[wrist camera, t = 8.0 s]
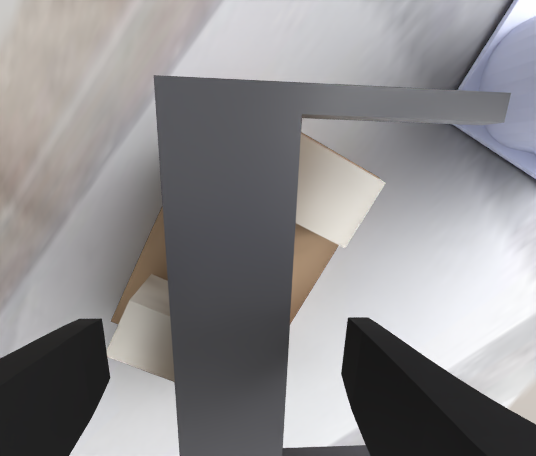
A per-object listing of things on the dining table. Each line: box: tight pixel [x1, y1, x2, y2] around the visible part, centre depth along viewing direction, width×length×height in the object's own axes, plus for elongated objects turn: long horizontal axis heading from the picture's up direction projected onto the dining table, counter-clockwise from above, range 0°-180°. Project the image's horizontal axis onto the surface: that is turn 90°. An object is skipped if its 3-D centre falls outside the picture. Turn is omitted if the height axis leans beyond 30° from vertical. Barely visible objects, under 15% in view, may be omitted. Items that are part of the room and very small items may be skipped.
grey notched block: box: [154, 75, 511, 456], centre depth 11 cm, size 10×15×4 cm, turn 178°
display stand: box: [106, 132, 386, 382], centre depth 14 cm, size 10×15×7 cm, turn 152°
